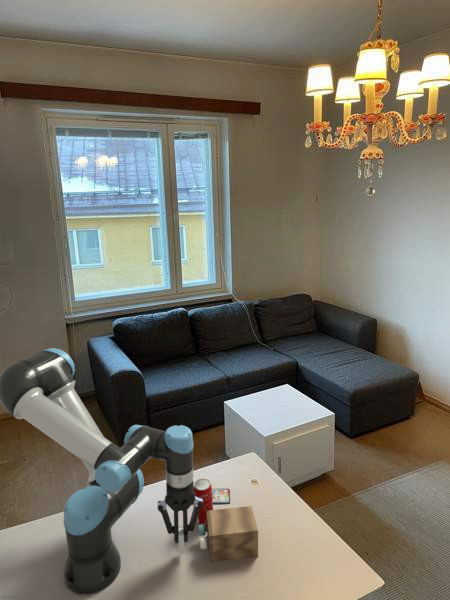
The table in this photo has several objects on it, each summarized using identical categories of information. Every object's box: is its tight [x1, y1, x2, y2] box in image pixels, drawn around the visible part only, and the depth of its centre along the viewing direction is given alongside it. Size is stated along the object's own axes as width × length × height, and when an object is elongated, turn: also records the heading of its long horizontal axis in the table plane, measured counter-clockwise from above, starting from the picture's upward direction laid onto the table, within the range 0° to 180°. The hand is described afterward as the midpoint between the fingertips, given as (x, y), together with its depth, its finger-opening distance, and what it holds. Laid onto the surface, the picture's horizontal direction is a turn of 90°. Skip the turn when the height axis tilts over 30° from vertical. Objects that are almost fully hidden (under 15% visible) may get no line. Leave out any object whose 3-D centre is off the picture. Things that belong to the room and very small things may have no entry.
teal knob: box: [197, 524, 208, 537], centre depth 128 cm, size 8×3×3 cm, turn 97°
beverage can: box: [193, 478, 214, 527], centre depth 135 cm, size 6×6×15 cm
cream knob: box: [198, 536, 209, 550], centre depth 123 cm, size 8×3×3 cm, turn 97°
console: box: [206, 505, 259, 563], centre depth 126 cm, size 14×10×9 cm
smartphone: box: [191, 488, 231, 506], centre depth 148 cm, size 8×1×15 cm
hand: (181, 550), depth 123 cm, fingers closed
